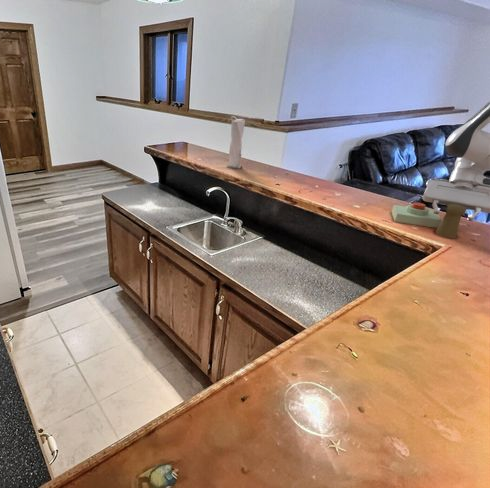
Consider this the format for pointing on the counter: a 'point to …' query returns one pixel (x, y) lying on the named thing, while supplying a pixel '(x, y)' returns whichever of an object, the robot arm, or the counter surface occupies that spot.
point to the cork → (451, 221)
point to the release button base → (415, 216)
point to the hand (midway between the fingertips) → (452, 216)
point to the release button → (418, 206)
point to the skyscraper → (236, 143)
